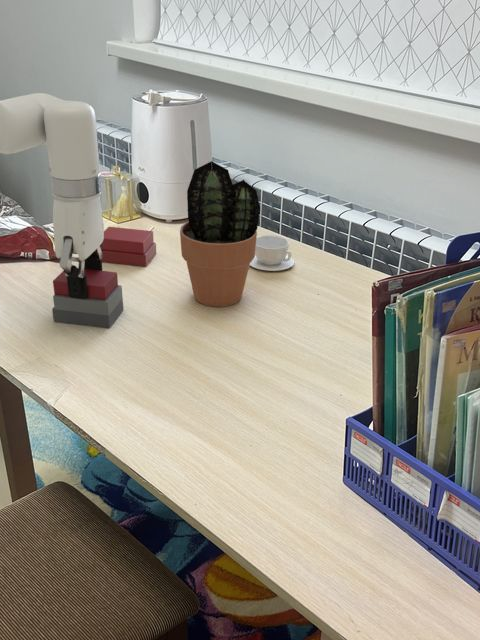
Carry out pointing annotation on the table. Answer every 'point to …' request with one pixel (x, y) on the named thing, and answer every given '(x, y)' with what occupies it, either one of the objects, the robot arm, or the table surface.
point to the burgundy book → (90, 284)
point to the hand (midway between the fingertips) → (86, 287)
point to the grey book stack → (88, 309)
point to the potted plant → (219, 235)
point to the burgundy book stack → (128, 246)
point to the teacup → (272, 253)
